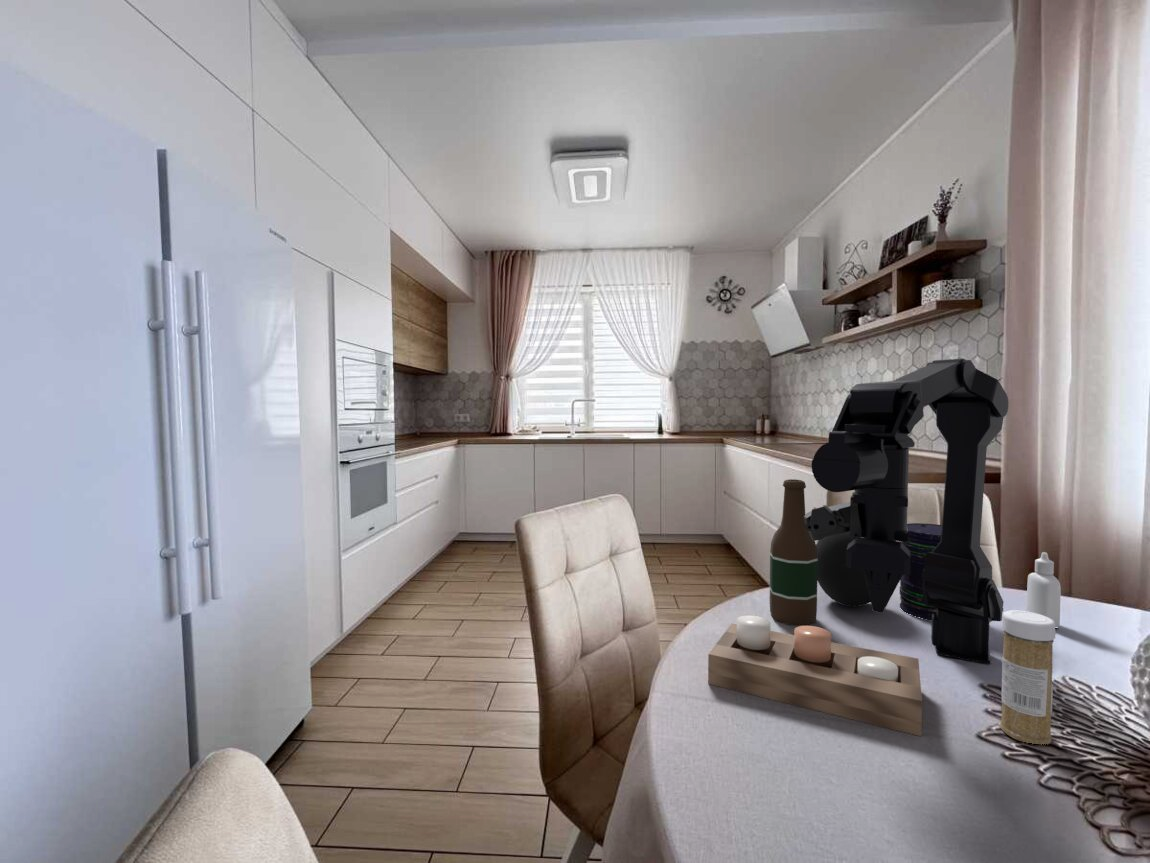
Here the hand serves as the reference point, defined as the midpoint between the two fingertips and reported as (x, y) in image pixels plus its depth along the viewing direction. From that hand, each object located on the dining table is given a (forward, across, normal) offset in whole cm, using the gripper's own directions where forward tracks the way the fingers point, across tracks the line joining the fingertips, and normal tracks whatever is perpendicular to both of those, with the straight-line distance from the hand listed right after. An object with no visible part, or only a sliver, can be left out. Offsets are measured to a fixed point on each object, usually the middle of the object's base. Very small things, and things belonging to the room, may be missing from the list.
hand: (877, 611), depth 69 cm
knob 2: (+10, 0, 0) cm, 10 cm away
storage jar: (+11, -39, +8) cm, 42 cm away
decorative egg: (+11, -36, -5) cm, 38 cm away
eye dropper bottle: (+11, -42, +24) cm, 50 cm away
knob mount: (+11, 0, -7) cm, 14 cm away
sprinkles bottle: (+12, 0, +15) cm, 19 cm away
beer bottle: (+12, -24, -13) cm, 30 cm away
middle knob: (+7, 0, -7) cm, 10 cm away
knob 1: (+7, 0, -15) cm, 17 cm away
